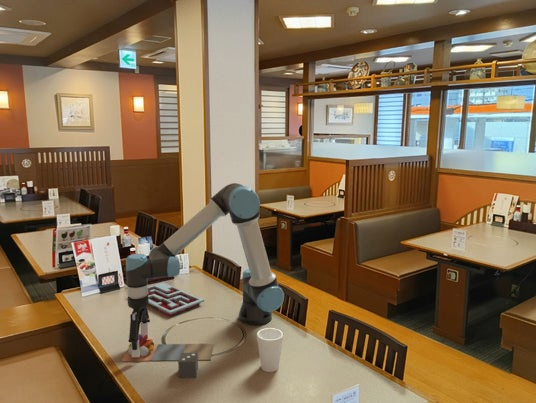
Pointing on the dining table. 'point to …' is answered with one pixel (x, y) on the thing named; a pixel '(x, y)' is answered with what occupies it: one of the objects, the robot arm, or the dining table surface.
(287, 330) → the dining table surface
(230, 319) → the dining table surface
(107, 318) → the dining table surface
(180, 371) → the die
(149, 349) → the multicoloured rounded cluster
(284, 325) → the dining table surface
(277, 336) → the foam cup
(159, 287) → the maze game
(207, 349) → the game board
